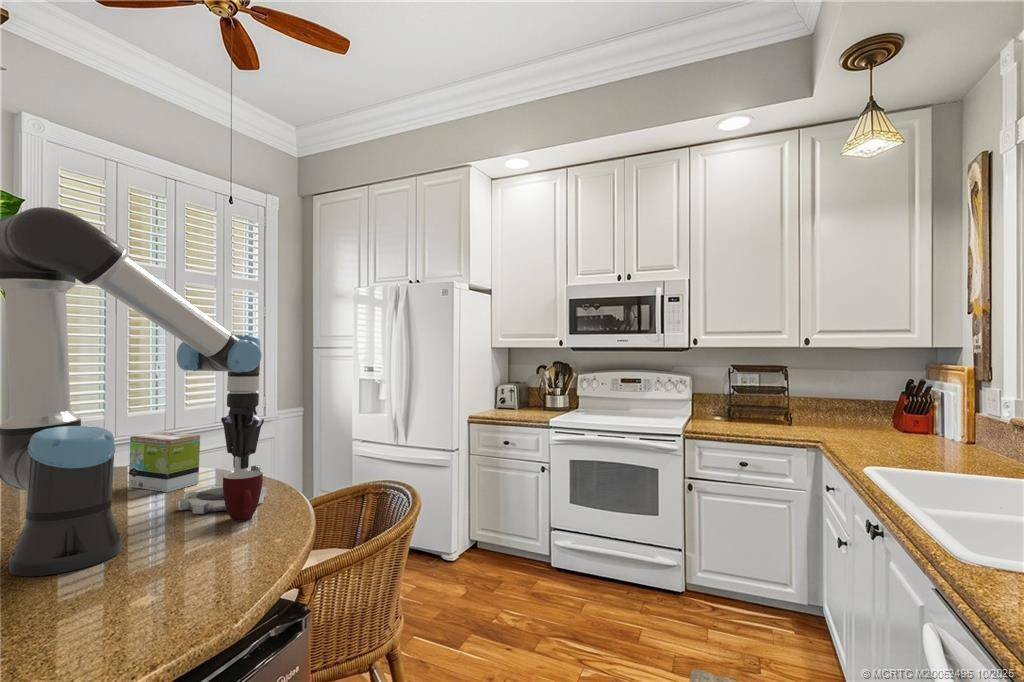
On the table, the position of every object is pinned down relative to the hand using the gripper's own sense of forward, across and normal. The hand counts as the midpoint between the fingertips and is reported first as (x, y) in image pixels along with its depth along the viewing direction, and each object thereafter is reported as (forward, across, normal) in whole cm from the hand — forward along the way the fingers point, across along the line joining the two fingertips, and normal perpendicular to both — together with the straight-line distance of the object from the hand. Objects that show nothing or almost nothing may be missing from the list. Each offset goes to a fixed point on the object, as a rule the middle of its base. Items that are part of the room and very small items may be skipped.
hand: (240, 480), depth 130 cm
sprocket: (+4, -2, +6) cm, 8 cm away
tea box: (+4, +28, +1) cm, 29 cm away
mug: (+4, -17, +14) cm, 22 cm away
